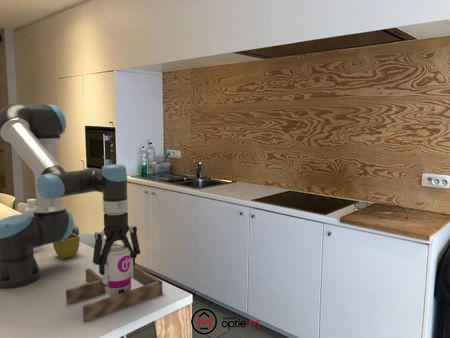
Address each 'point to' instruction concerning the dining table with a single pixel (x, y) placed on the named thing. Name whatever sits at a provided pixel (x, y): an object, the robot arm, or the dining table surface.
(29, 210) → the spray bottle
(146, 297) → the channel walls
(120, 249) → the supplement can
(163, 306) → the dining table surface
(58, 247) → the flower pot
